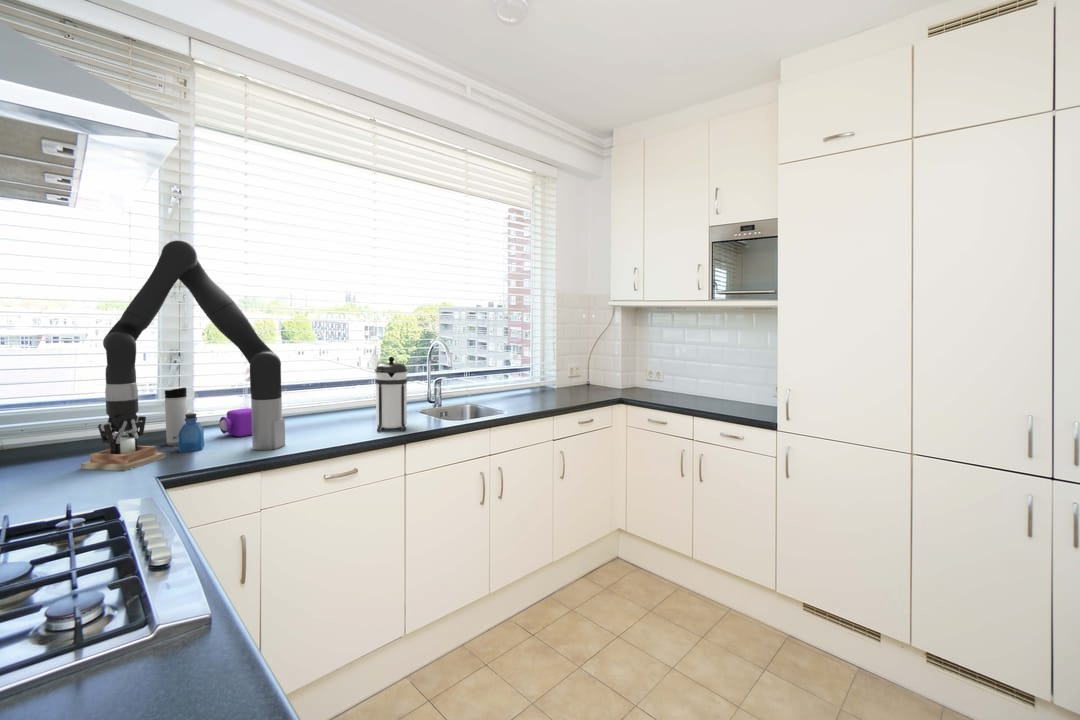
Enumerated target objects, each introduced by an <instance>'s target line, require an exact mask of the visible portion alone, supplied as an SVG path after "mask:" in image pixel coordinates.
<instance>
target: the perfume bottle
mask: <svg viewBox="0 0 1080 720" xmlns="http://www.w3.org/2000/svg"><path fill="white" fill-rule="evenodd" d="M185 416H186V418H185V422H186V423H185V424H184V425H183V426H182V428H181V430H180V432H179V445H178V453H185V452H186V453H187V452H199V451H202V450H203V449H204V447H205V437H204V436H205V435H204V434H205V429H204V427H203V426H202V425H201V423H200V422H197V420H198V417H197V413H194V412H193V413H192V412H191V413H187V414H185Z"/></svg>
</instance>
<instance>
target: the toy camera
mask: <svg viewBox="0 0 1080 720" xmlns="http://www.w3.org/2000/svg"><path fill="white" fill-rule="evenodd" d="M218 425H219V429H220V432H221V433H222V434H224V435H225V434H228V435H231V436H234V437H239V438H242V437H246V436H252V410H251V408H250V407H246V408H239V409H232V410H228V411H227V412H226V417H225V416H221V417H220V419H219V423H218Z"/></svg>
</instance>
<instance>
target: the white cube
mask: <svg viewBox="0 0 1080 720" xmlns="http://www.w3.org/2000/svg"><path fill="white" fill-rule="evenodd" d="M120 452H121V455H126V454H129V453H132V452H135V438H133V437H128V436H126V437H121V439H120Z"/></svg>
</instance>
